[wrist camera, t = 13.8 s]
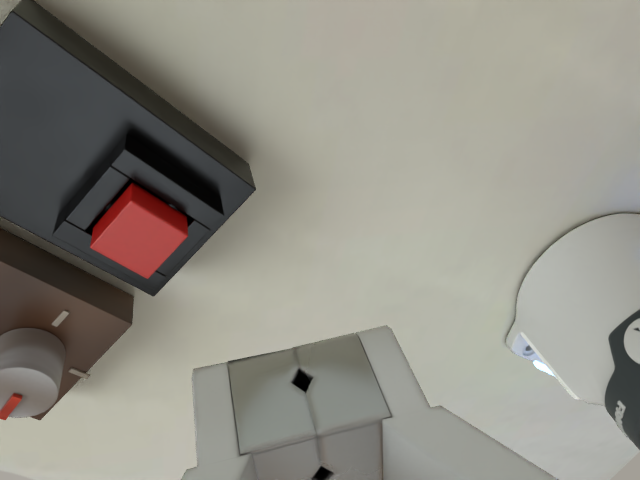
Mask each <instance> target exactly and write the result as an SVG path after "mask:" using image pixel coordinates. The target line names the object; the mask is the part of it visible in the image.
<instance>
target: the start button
mask: <svg viewBox="0 0 640 480" xmlns="http://www.w3.org/2000/svg"><path fill="white" fill-rule="evenodd" d="M187 237H188V226H187V217H186V216H185V215H183V214H182V213H180V212H179V211H177V210H175V209H174V208H172V207H171V206H169V205H168V204H166V203H165V202H163V201H161V200H160V199H158V198H157V197H155V196H154V195H152V194H150V193H149V192H147V191H146V190H144V189H143V188H141V187H140V186H138V185H136V184H135V183H131V184H130V186H129V187H128V188H127V189H126V190H125V191H124V192H123V194H122V195H121V196H120V197H119V198H118V199H117V200H116V202H115V203H114V204H113V205H112V206H111V207H110V209H109V210H108V211H107V212H106V213H105V214H104V215H103V217H102V218H101V219H100V220H99V221H98V222H97V224H96V225H95V226H94V227H93V233H92V238H91V244H90V248H91V249H93V250H95V251H97V252H99V253H100V254H102V255H104V256H106V257H108V258H110V259H111V260H113V261H115V262H117V263H119V264H121V265H123V266H124V267H126V268H128V269H130V270H132V271H134V272H135V273H137V274H139V275H141V276H143V277H145V278H147V279H148V278H149V277H150V276H151V275H152V274H153V273H154V272H155V271H156V270H157V269H158V268H159V267H160V266H161V264H162V263H163V262H164V261H165V260H166V259H167V258H168V257H169V256H170V255H171V254H172V253H173V252H174V251H175V250H176V249H177V247H178V246H179V245H180V244H181V243H182V242H183V241H184V240H185V239H186V238H187Z"/></svg>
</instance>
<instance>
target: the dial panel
mask: <svg viewBox="0 0 640 480" xmlns="http://www.w3.org/2000/svg"><path fill="white" fill-rule="evenodd" d="M133 301H134V297H133V296H132V295H130V294H128V293H126V292H124V291H122V290H120V289H118V288H116V287H114V286H112V285H110V284H108V283H106V282H104V281H102V280H100V279H99V278H97V277H95V276H93V275H91V274H89V273H87V272H85V271H83V270H81V269H79V268H77V267H75V266H73V265H71V264H69V263H67V262H65V261H64V260H62V259H60V258H58V257H56V256H54V255H52V254H50V253H48V252H46V251H44V250H42V249H40V248H38V247H36V246H34V245H32V244H30V243H28V242H27V241H25V240H23V239H21V238H19V237H17V236H15V235H13V234H11V233H9V232H7V231H5V230H3V229H1V228H0V336H1V335H2V334H4V333H6V332H8V331H11V330H14V329H19V328H36V329H41V330H44V331H47V332H49V333H51V334H53V335H55V336H56V337H57V338H58V339H59V340H60V341H61V342H62V343H63V345H64V347H65V351H66V356H65V361H64V367H63V372H62V378H61V383H60V388H59V394H58V398H57V400H56V402H55V403H54V404H53V405H52V407H50V408H49V409H48V410H46V411H45V412H42V413H40V414H38V415H34V416H30V417H32V418H35V419H38V420H41V419H42V418H43V417H44V416H45V415H46V414H47V413H48V412H49V411H50V410H51V409H52V408H53V406H54V405H55V404H56V403H57V402H58V401H59V400H60V399H61V398H62V397H63V396H64V395H65V394H66V393H67V392H68V391H69V390H70V389H71V388H72V387H73V386H74V385H75V384H76V382H77V381H78V380H79V379H80V378H81V377H83V378H85V379H87V378H88V377H89V376H90V374H87V373H86V372H87V371H88V370H89V369H90V368H91V367H92V366H93V365H94V364H95V363H96V362H97V361H98V360H99V359H100V357H101V356H102V355H103V354H104V353H105V352H106V351H107V350H108V349H109V348H110V347H111V346H112V345H113V344H114V343H115V342H116V341H117V340H118V339H119V338H120V337H121V336H122V335H123V333H124V332H125V331H126V330H127V329H128V328H129V327H130V326H131V325H132V318H133Z"/></svg>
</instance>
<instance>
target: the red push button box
mask: <svg viewBox="0 0 640 480" xmlns="http://www.w3.org/2000/svg"><path fill="white" fill-rule="evenodd" d="M131 183H135V184H136V185H138V186H140V187H141V188H143V189H144V190H146V191H147V192H149V193H150V194H152V195H154V196H155V197H157V198H158V199H160V200H161V201H163V202H165V203H166V204H168V205H169V206H171V207H172V208H174V209H175V210H177V211H179V212H180V213H182V214H183V215H185V216H186V217H187V226H188V237H187V238H186V239H185V240H184V241H183V242H182V243H181V244H180V245H179V246H178V247H177V249H176V250H175V251H174V252H173V253H172V254H171V255H170V256H169V257H168V258H167V259H166V260H165V261H164V262H163V263H162V264H161V266H160V267H159V268H158V269H157V270H156V271H155V272H154V273H153V274H152V275H151V276H150V277H149V278H148V279H147V278H145V277H143V276H141V275H139V274H137V273H135V272H134V271H132V270H130V269H128V268H126V267H124V266H123V265H121V264H119V263H117V262H115V261H113V260H111V259H110V258H108V257H106V256H104V255H102V254H100V253H99V252H97V251H95V250H93V249H91V248H90V244H91V238H92V233H93V227H94V226H95V225H96V224H97V222H98V221H99V220H100V219H101V218H102V217H103V215H104V214H105V213H106V212H107V211H108V210H109V209H110V207H111V206H112V205H113V204H114V203H115V202H116V200H117V199H118V198H119V197H120V196H121V195H122V194H123V192H124V191H125V190H126V189H127V188H128V187H129V186H130V184H131ZM255 190H256V187H255V184H254V180H253V177H252V173H251V170H250V166H249V164H248V163H247V162H246V161H244V160H243V159H242V158H240V157H239V156H238V155H237V154H235V153H234V152H233V151H231V150H230V149H229V148H227V147H226V146H225V145H223V144H222V143H221V142H219V141H218V140H217V139H215V138H214V137H213V136H211V135H210V134H209V133H208V132H206V131H205V130H204V129H202V128H201V127H200V126H198V125H197V124H196V123H194V122H193V121H192V120H190V119H189V118H188V117H186V116H185V115H184V114H182V113H181V112H180V111H178V110H177V109H176V108H175V107H173V106H172V105H171V104H169V103H168V102H167V101H165V100H164V99H163V98H161V97H160V96H159V95H157V94H156V93H155V92H153V91H152V90H151V89H149V88H148V87H147V86H146V85H144V84H143V83H142V82H140V81H139V80H138V79H136V78H135V77H134V76H132V75H131V74H130V73H128V72H127V71H126V70H124V69H123V68H122V67H120V66H119V65H118V64H116V63H115V62H114V61H113V60H111V59H110V58H109V57H107V56H106V55H105V54H103V53H102V52H101V51H99V50H98V49H97V48H95V47H94V46H93V45H91V44H90V43H89V42H87V41H86V40H85V39H84V38H82V37H81V36H80V35H78V34H77V33H76V32H74V31H73V30H72V29H70V28H69V27H68V26H66V25H65V24H64V23H62V22H61V21H60V20H58V19H57V18H56V17H54V16H53V15H52V14H51V13H49V12H48V11H47V10H45V9H44V8H43V7H41V6H40V5H39V4H37V3H36V2H35V1H33V0H21V1H20V2H19V3H18V4H17V6H16V7H15V8H14V9H13V10H12V11H11V12H10V14H9V15H8V16H7V18H6V19H5V21H4V22H3V24H2V25H1V26H0V216H1V217H3V218H5V219H7V220H9V221H11V222H13V223H14V224H16V225H18V226H20V227H22V228H24V229H26V230H28V231H30V232H32V233H33V234H35V235H37V236H39V237H41V238H43V239H45V240H47V241H49V242H51V243H53V244H54V245H56V246H58V247H60V248H62V249H64V250H66V251H68V252H70V253H72V254H73V255H75V256H77V257H79V258H81V259H83V260H85V261H87V262H89V263H91V264H92V265H94V266H96V267H98V268H100V269H102V270H104V271H106V272H108V273H110V274H112V275H113V276H115V277H117V278H119V279H121V280H123V281H125V282H127V283H129V284H131V285H132V286H134V287H136V288H138V289H140V290H142V291H144V292H146V293H148V294H150V295H151V296H155V295H156V294H157V293H158V292H159V291H160V290H161V288H162V287H163V286H164V285H165V284H166V283H167V282H168V281H169V280H170V279H171V278H172V277H173V276H174V275H175V274H176V273H177V272H178V271H179V270H180V269H181V268H182V266H183V265H184V264H185V263H186V262H187V261H188V260H189V259H190V258H191V257H192V256H193V255H194V254H195V253H196V252H197V251H198V250H199V249H200V248H201V247H202V246H203V245H204V243H205V242H206V241H207V240H208V239H209V238H210V237H211V236H212V235H213V234H214V233H215V232H216V231H217V230H218V229H219V228H220V227H221V226H222V225H223V224H224V223H225V221H226V220H227V219H228V218H229V217H230V216H231V215H232V214H233V213H234V212H235V211H236V210H237V209H238V208H239V207H240V206H241V205H242V204H243V203H244V202H245V201H246V200H247V198H248V197H249V196H250V195H251V194H252V193H253V192H254V191H255Z"/></svg>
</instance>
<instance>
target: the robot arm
mask: <svg viewBox="0 0 640 480" xmlns="http://www.w3.org/2000/svg"><path fill="white" fill-rule="evenodd" d="M506 346H507V347H508V348H509V349H510V350H511V351H512V352H513V353H514V354H516V355H518V356H521V357H523V358H526V359H528V360H531V361H533V363H534V365H535V366H536V367H537V368H538V369H540V370H542V371H545V372H547V373H549V374H551V375H553V376H555V377H556V378H557V380H558V381H559V382H560V383H561V384H562V386H563V387H564V388H565V389H566V390H567V392H568V393H569V394H570V395H571V396H572V397H573V398H574V399H576V400H580V399H581V400H583V401H585V402H587V403H589V404H594V405H601V406H605V407H606V410H607V412H608V413H609V414H610V415H611V417H612V418H613V419H614V420H615V422H616V424H617V426H618V427H619V429H620V430H621V431H622V432H623V433H624V435H625V436H626V437H628V438H629V439H630V440H631V441H632V442H633V443H634V444H635V445H636V446H637V447H638V449H640V214H630V213H622V214H613V215H608V216H604V217H601V218H598V219H595V220H592V221H590V222H587V223H585V224H583V225H581V226H579V227H577V228H575V229H574V230H572V231H570V232H569V233H567V234H566V235H564V236H563V237H562V238H560V239H559V240H558V241H556V242H555V243H554V244H553V245H552V246H550V247H549V248H548V249H547V250H546V251H545V252H544V253H543V254H542V255H541V256H540V257H539V259H538V260H537V261H536V262H535V263H534V265H533V266H532V267H531V269H530V270H529V272H528V273H527V275H526V277H525V279H524V281H523V283H522V285H521V287H520V290H519V293H518V297H517V302H516V318H515V322H514V324H513V326H512V328H511V330H510V332H509V334H508V336H507V339H506ZM192 390H193V406H194V421H195V437H196V453H197V467H194V468H191V469H187V470H186V472H185V473H184V475H183V477H182V479H181V480H558V479H557V478H555V477H553V476H552V475H550V474H549V473H547V472H545V471H544V470H542V469H541V468H539V467H538V466H536V465H534V464H533V463H531V462H530V461H528V460H526V459H525V458H523V457H522V456H520V455H518V454H517V453H515V452H514V451H512V450H510V449H509V448H507V447H506V446H504V445H503V444H501V443H499V442H498V441H496V440H495V439H493V438H491V437H490V436H488V435H487V434H485V433H483V432H482V431H480V430H479V429H477V428H475V427H474V426H472V425H471V424H469V423H467V422H466V421H464V420H463V419H461V418H460V417H458V416H456V415H455V414H453V413H452V412H450V411H448V410H447V409H445V408H444V407H442V406H436V407H430V405H429V403H428V401H427V399H426V397H425V395H424V393H423V391H422V389H421V387H420V385H419V383H418V381H417V379H416V377H415V375H414V373H413V371H412V369H411V367H410V365H409V363H408V361H407V359H406V357H405V355H404V353H403V351H402V349H401V347H400V345H399V343H398V341H397V339H396V337H395V335H394V333H393V331H392V329H391V328H389V327H388V326H387V325H386V326H381V327H377V328H373V329H369V330H365V331H360V332H356V333H355V334H354V333H352V334H347V335H343V336H339V337H335V338H331V339H326V340H322V341H318V342H314V343H310V344H305V345H301V346H297V347H293V348H291V349H286V350H281V351H277V352H272V353H267V354H262V355H257V356H252V357H247V358H242V359H237V360H232V361H228V362H225V363H221V364H216V365H211V366H206V367H201V368H196V369H193V374H192Z"/></svg>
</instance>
